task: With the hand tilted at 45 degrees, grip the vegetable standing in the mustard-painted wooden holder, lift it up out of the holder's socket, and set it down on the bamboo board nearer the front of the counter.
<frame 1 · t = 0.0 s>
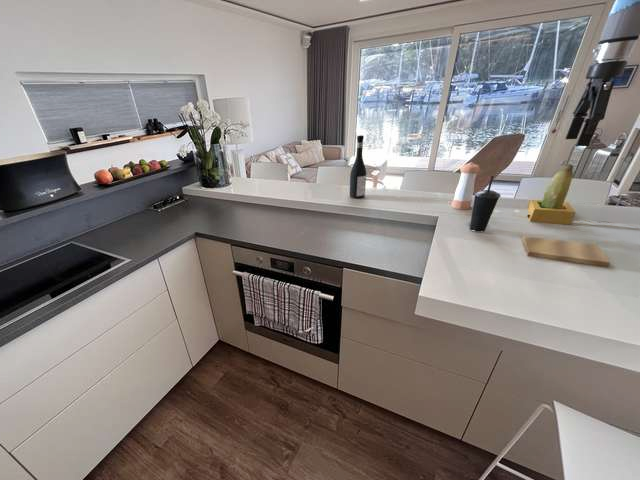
hand: (576, 142, 91), 29 cm above the countertop, tool pointing down, fingers open, 13 cm apart
board: (560, 252, 89), on the countertop
vegetable: (546, 218, 111), resting in stand
drinking cup: (476, 230, 107), on the countertop
wine bottle: (357, 196, 153), on the countertop
stand: (546, 217, 111), on the countertop
pepper shaker: (460, 207, 128), on the countertop
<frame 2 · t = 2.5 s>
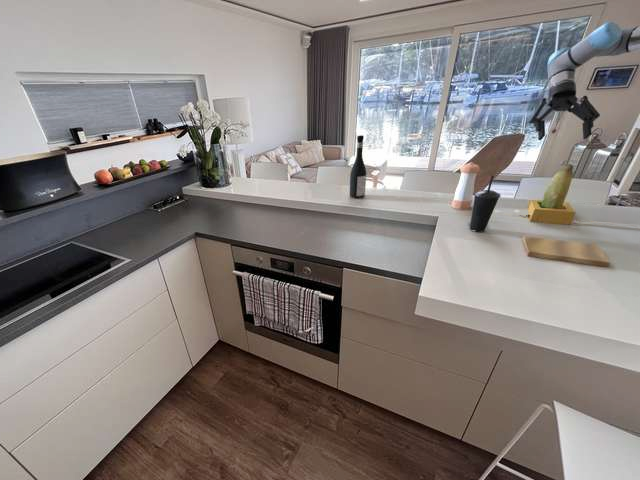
hand: (564, 137, 105), 28 cm above the countertop, tool tilted 45°, fingers open, 13 cm apart
nothing on the countertop moved.
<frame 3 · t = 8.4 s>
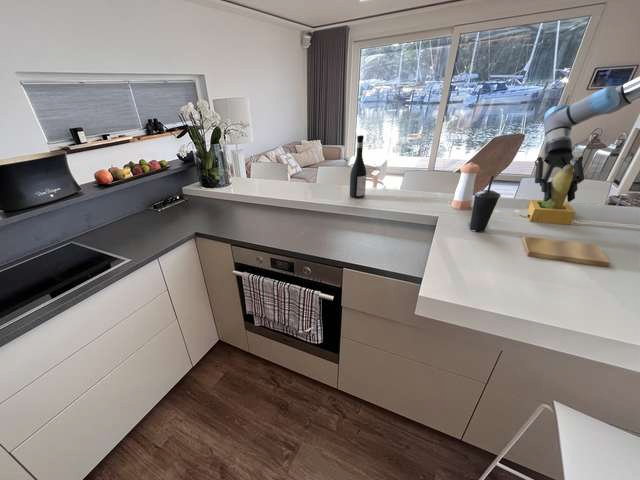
hand: (559, 199, 104), 8 cm above the countertop, tool tilted 45°, fingers closed on vegetable, 6 cm apart
vegetable: (546, 218, 111), resting in stand, touching gripper
everything else where it was.
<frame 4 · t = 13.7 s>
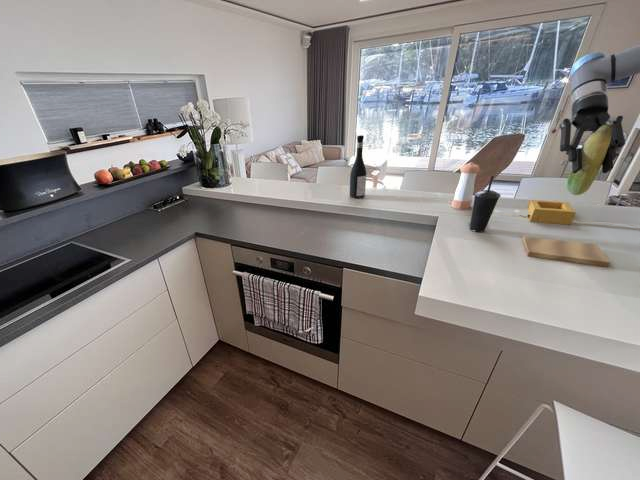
hand: (592, 170, 82), 23 cm above the countertop, tool tilted 45°, fingers closed on vegetable, 6 cm apart
vegetable: (573, 195, 89), point 15 cm above the countertop, touching gripper
everything else where it was.
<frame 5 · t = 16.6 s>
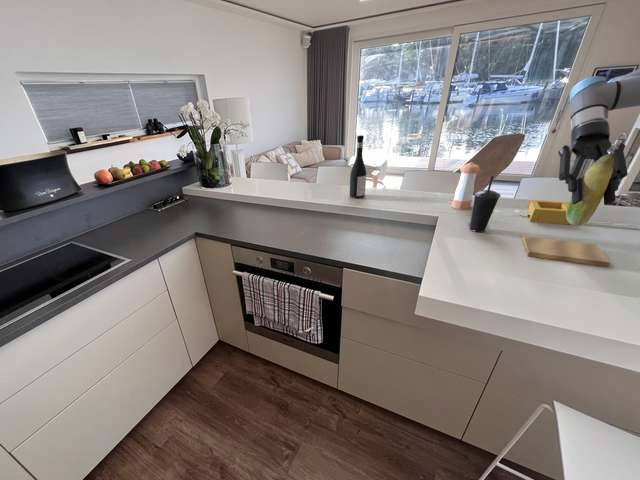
hand: (593, 202, 77), 17 cm above the countertop, tool tilted 45°, fingers closed on vegetable, 6 cm apart
vegetable: (573, 226, 85), point 9 cm above the countertop, touching gripper
everything else where it was.
when the fingers open (10 cm above the countertop, at t = 19.0 s): vegetable stays where it is, resting on board.
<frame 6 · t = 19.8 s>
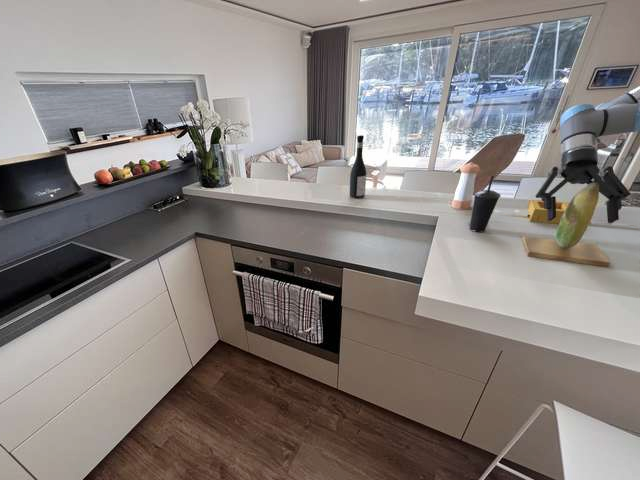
hand: (581, 220, 81), 12 cm above the countertop, tool tilted 45°, fingers open, 13 cm apart
vegetable: (562, 248, 88), point 1 cm above the countertop, touching board
everything else where it was.
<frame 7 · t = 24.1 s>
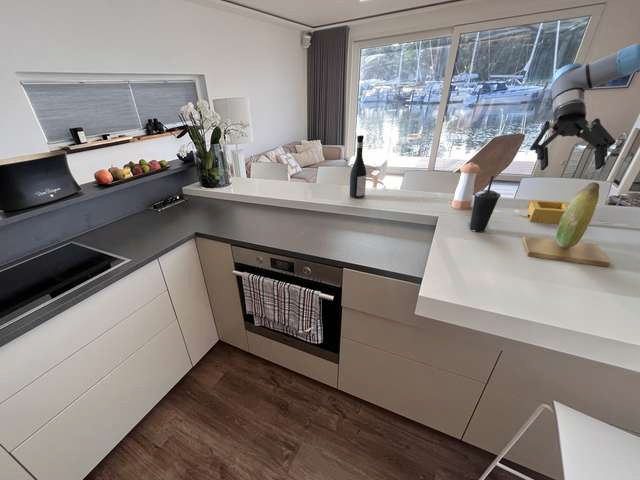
hand: (571, 167, 89), 23 cm above the countertop, tool tilted 45°, fingers open, 13 cm apart
nothing on the countertop moved.
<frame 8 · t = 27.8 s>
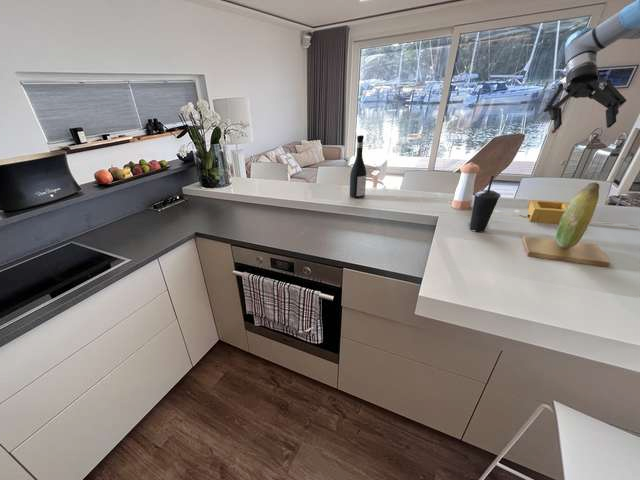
hand: (584, 126, 93), 33 cm above the countertop, tool tilted 45°, fingers open, 13 cm apart
nothing on the countertop moved.
at the end: vegetable inside the target area on the board (0.1 cm from its centre), point 1.3 cm above the board's base; vegetable touching board; the gripper is holding nothing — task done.
